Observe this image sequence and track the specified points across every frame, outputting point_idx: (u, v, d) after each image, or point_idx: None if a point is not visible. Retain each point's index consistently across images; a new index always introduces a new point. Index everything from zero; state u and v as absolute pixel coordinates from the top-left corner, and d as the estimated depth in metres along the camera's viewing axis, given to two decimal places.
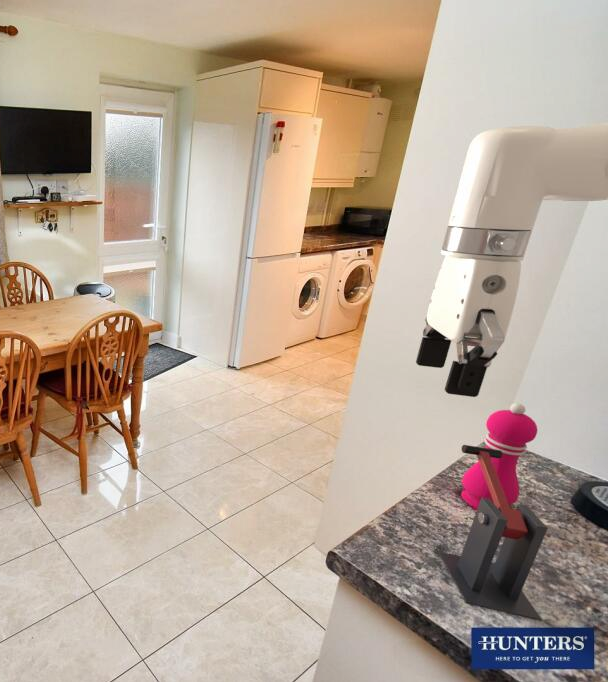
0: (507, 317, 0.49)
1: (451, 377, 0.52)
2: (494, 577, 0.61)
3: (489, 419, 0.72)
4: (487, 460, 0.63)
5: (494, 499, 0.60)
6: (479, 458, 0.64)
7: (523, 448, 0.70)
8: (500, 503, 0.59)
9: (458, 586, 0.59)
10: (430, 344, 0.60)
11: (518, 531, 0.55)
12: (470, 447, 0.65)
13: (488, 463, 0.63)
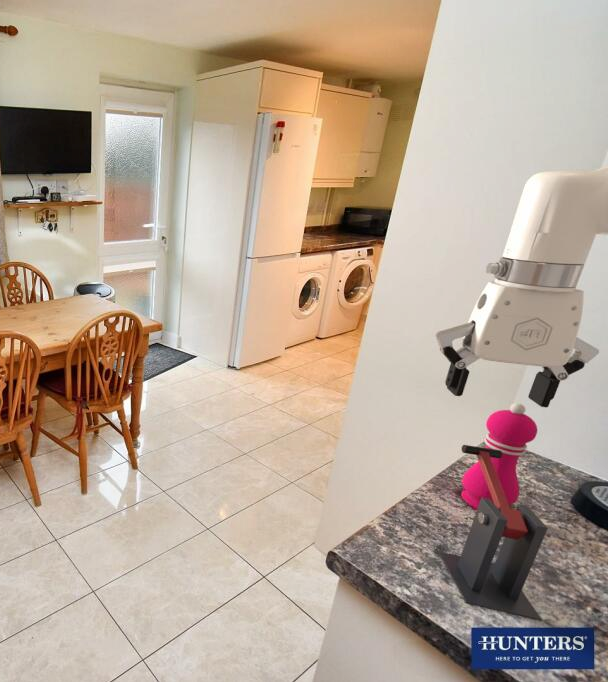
0: (480, 330, 0.58)
1: None
2: (494, 577, 0.61)
3: (489, 419, 0.72)
4: (487, 460, 0.63)
5: (494, 499, 0.60)
6: (479, 458, 0.64)
7: (523, 448, 0.70)
8: (500, 503, 0.59)
9: (458, 586, 0.59)
10: (538, 378, 0.60)
11: (518, 531, 0.55)
12: (470, 447, 0.65)
13: (488, 463, 0.63)
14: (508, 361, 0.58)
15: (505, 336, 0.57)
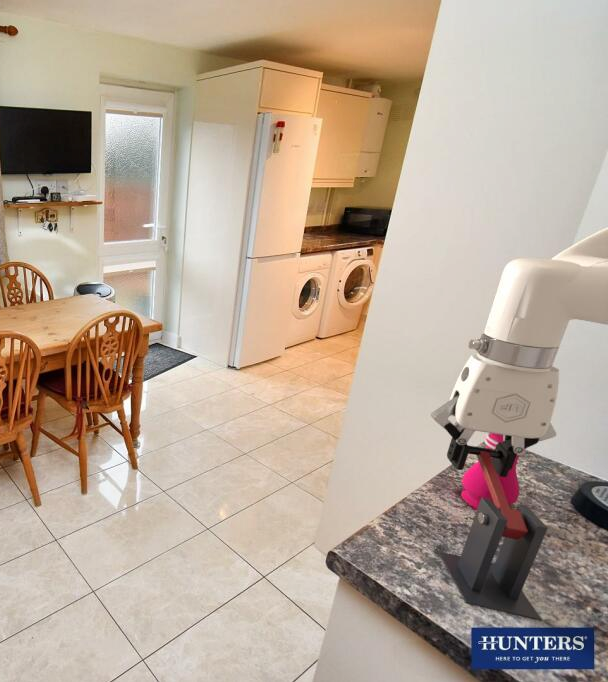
0: (463, 402, 0.62)
1: None
2: (494, 577, 0.61)
3: None
4: (487, 460, 0.63)
5: (494, 499, 0.60)
6: (479, 458, 0.64)
7: None
8: (500, 503, 0.59)
9: (458, 586, 0.59)
10: (498, 449, 0.64)
11: (518, 531, 0.55)
12: (470, 447, 0.65)
13: (488, 463, 0.63)
14: (489, 431, 0.61)
15: (486, 409, 0.60)
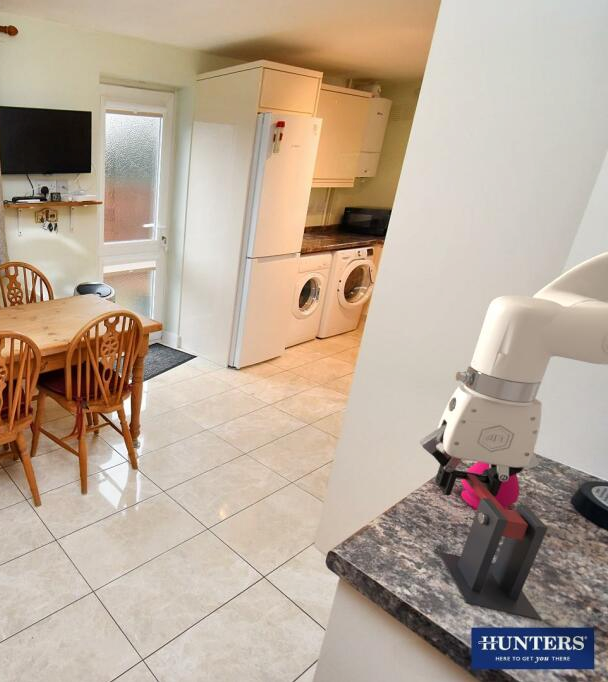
0: (450, 432, 0.64)
1: None
2: (494, 577, 0.61)
3: None
4: (475, 480, 0.65)
5: None
6: (467, 480, 0.66)
7: None
8: None
9: (458, 586, 0.59)
10: None
11: (519, 525, 0.55)
12: (457, 470, 0.67)
13: (477, 482, 0.65)
14: (475, 460, 0.64)
15: (472, 439, 0.63)
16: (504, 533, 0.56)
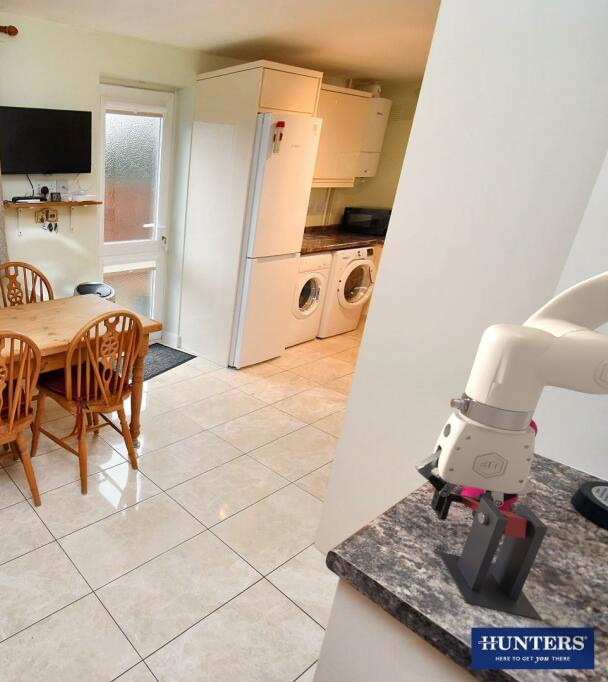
0: (445, 458, 0.65)
1: None
2: (494, 577, 0.61)
3: None
4: (470, 499, 0.66)
5: None
6: (463, 502, 0.67)
7: None
8: None
9: (458, 586, 0.59)
10: None
11: (518, 521, 0.56)
12: (451, 493, 0.68)
13: (473, 500, 0.65)
14: (470, 486, 0.64)
15: (467, 465, 0.63)
16: (506, 530, 0.56)
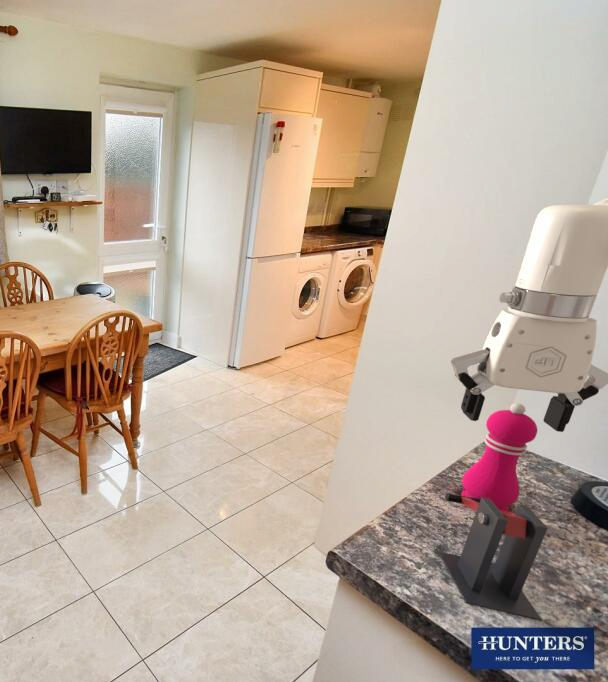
0: (495, 358, 0.59)
1: None
2: (494, 577, 0.61)
3: (489, 419, 0.72)
4: (470, 500, 0.66)
5: None
6: (463, 502, 0.67)
7: (523, 448, 0.70)
8: None
9: (458, 586, 0.59)
10: (553, 403, 0.61)
11: (518, 520, 0.56)
12: None
13: (472, 501, 0.65)
14: (523, 388, 0.59)
15: (520, 364, 0.58)
16: (506, 530, 0.56)
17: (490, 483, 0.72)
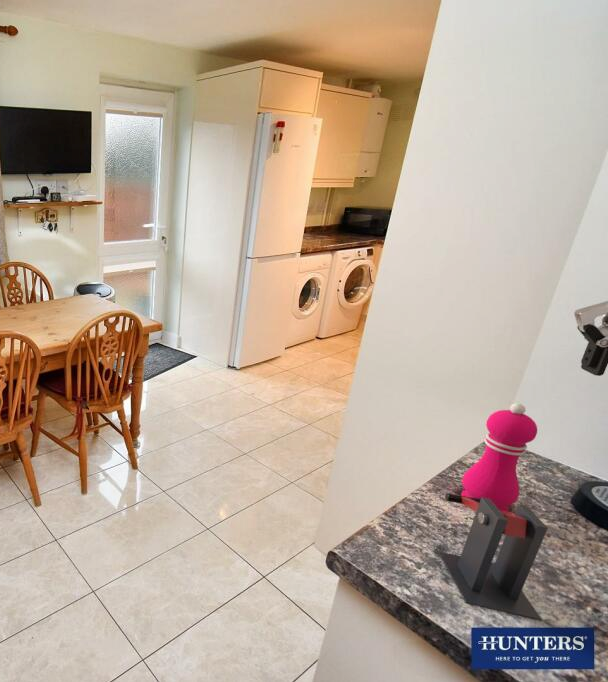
0: None
1: None
2: (494, 577, 0.61)
3: (489, 419, 0.72)
4: (470, 500, 0.66)
5: None
6: (463, 502, 0.67)
7: (523, 448, 0.70)
8: None
9: (458, 586, 0.59)
10: None
11: (518, 520, 0.56)
12: None
13: (472, 501, 0.65)
14: None
15: None
16: (506, 530, 0.56)
17: (490, 483, 0.72)
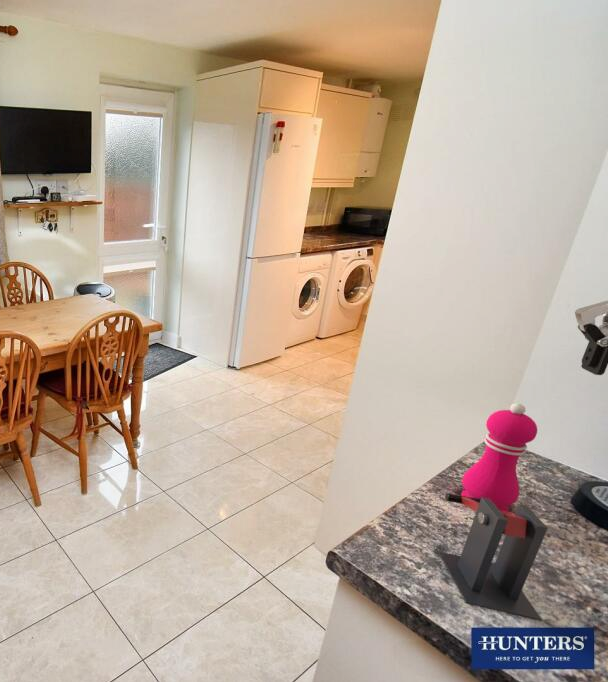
0: None
1: None
2: (494, 577, 0.61)
3: (489, 419, 0.72)
4: (470, 500, 0.66)
5: None
6: (463, 502, 0.67)
7: (523, 448, 0.70)
8: None
9: (458, 586, 0.59)
10: None
11: (518, 520, 0.56)
12: None
13: (472, 501, 0.65)
14: None
15: None
16: (506, 530, 0.56)
17: (490, 483, 0.72)
